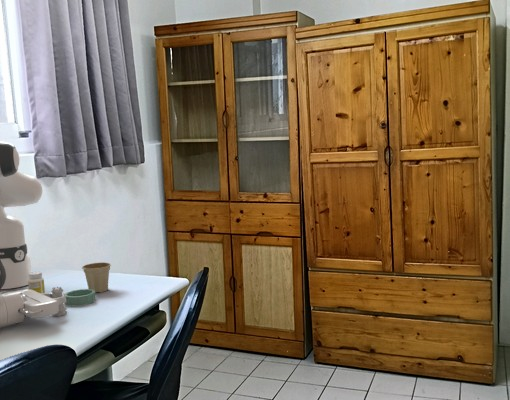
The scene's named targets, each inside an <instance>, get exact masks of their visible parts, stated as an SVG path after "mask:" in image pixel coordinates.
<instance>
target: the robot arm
mask: <svg viewBox="0 0 510 400" xmlns="http://www.w3.org/2000/svg"><path fill="white" fill-rule="evenodd" d="M19 166H20V154H19V152H18V150H17V148H16V147H15V145H13V144H12V143H11V142H5V141H0V290H3V291H1V292H0V328H1V327H7V326H11V325H15V324H16V325H17V324H20V323H23V321H24V320H25V318H26V317H29V318H31V319H38V318H44V317H50V316H52V315H54V314H57V313H58V312H59V304H61V303H63V304H65V302H66V297H65V296H64V295H63V296H59V297H58V298H55V299H54V298H53V293H52V292H45V293H41V294H40V293H38V292H36V291H33V290H29V289H20V290H13V291H8V290H10V289H15V288H21V287H26V286H29V285H28V280H29V279H30V278H29V273H31V272H33V269H32V268H33V267H32V263H31V259H30V257H29V256H28V255H27V254H28V246H27V243H26V241H25V240H26V238H25V227H24V224H23V221H21V220H20V219H19V218H16V216H15V217H14V216H12V215H9V214H7V212H6V211H5V208H12V207H13V208H15V207H25V206H29V205H34V204H38V202H39V201H40V200H41V198H42V195H43V187H42V183H41V182H40V180H39V179H38V178H37V177H36V176H33V175H29V174H26V173H24V172H22V171H20V170H19Z"/></svg>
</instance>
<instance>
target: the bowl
mask: <svg viewBox="0 0 510 400" xmlns="http://www.w3.org/2000/svg"><path fill="white" fill-rule="evenodd" d="M96 295H97V294H96V293H95V291H94V290H91V289H88V288H81V289H74V290H70V291H67V292H65V293H64V294H63V296H65V297H66V302H65V303H64V305H65V306H69V307H80V306H87V305H90V304H92V303H94V302H96V301H97V299H96V297H97V296H96Z"/></svg>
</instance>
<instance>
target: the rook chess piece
mask: <svg viewBox="0 0 510 400" xmlns="http://www.w3.org/2000/svg"><path fill="white" fill-rule="evenodd" d="M63 291H64V289H63V287H62V286H56V287H55V286H54V287H52V289H51V293H53V298H54V299H55V298H58V297H59V296H64V294H63ZM67 313H68V311H67V307H66V305H65V303H61V304H59V312H58V313H57V314H54V315H51V316H52V317H63V316H65V315H67Z"/></svg>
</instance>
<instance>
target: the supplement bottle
mask: <svg viewBox="0 0 510 400" xmlns="http://www.w3.org/2000/svg"><path fill="white" fill-rule="evenodd" d="M29 278H30V279H29V280H28V285H27V286H28V290H33V291H36V292H38V293H40V294H41V293H46V290H45V280H44V278H43V272H42V271H32V272H31V273H29Z"/></svg>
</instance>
